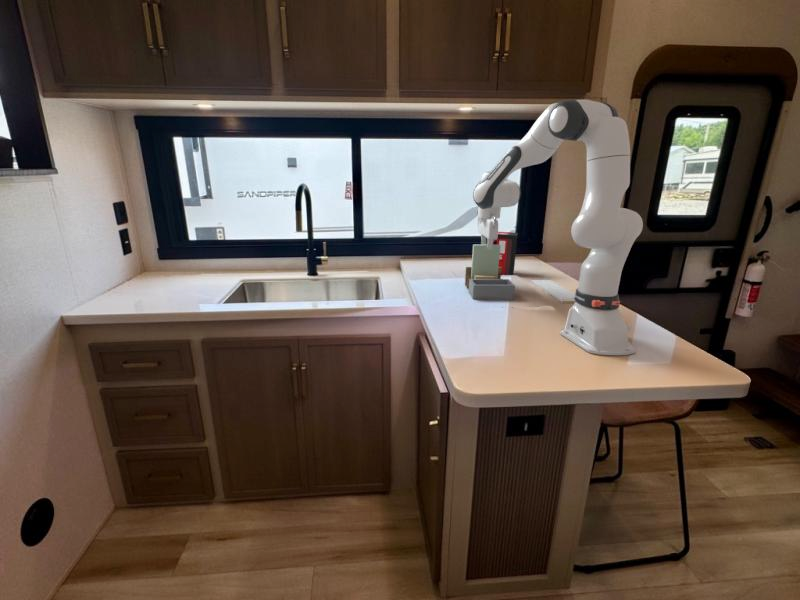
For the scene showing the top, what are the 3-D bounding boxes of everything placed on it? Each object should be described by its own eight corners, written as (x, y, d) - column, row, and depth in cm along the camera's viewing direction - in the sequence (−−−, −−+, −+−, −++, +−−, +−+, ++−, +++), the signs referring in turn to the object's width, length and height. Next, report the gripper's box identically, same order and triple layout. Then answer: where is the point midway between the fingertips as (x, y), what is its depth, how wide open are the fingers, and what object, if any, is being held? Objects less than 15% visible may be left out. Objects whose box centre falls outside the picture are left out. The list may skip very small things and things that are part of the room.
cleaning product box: (478, 274, 202) (481, 233, 196) (480, 270, 210) (483, 231, 204) (513, 277, 198) (517, 235, 191) (513, 272, 206) (517, 232, 200)
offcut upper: (494, 283, 169) (495, 276, 168) (475, 283, 168) (475, 276, 168) (492, 281, 172) (493, 274, 171) (473, 281, 172) (474, 274, 171)
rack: (505, 295, 169) (507, 272, 166) (468, 295, 169) (470, 272, 166) (498, 288, 179) (500, 266, 176) (464, 288, 178) (465, 266, 176)
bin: (513, 302, 160) (515, 285, 158) (472, 302, 159) (473, 285, 157) (507, 295, 168) (508, 279, 166) (468, 295, 168) (469, 279, 166)
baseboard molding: (555, 283, 191) (530, 283, 190) (556, 276, 190) (531, 277, 189) (591, 304, 161) (561, 304, 160) (592, 297, 160) (562, 297, 159)
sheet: (496, 287, 175) (500, 245, 169) (471, 287, 175) (473, 245, 169) (495, 286, 176) (499, 244, 171) (470, 286, 176) (473, 244, 170)
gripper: (503, 216, 156) (500, 252, 161) (490, 210, 176) (488, 242, 180) (487, 216, 156) (484, 252, 160) (476, 210, 175) (473, 242, 180)
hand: (486, 247), depth 170 cm, fingers open, 8 cm apart
